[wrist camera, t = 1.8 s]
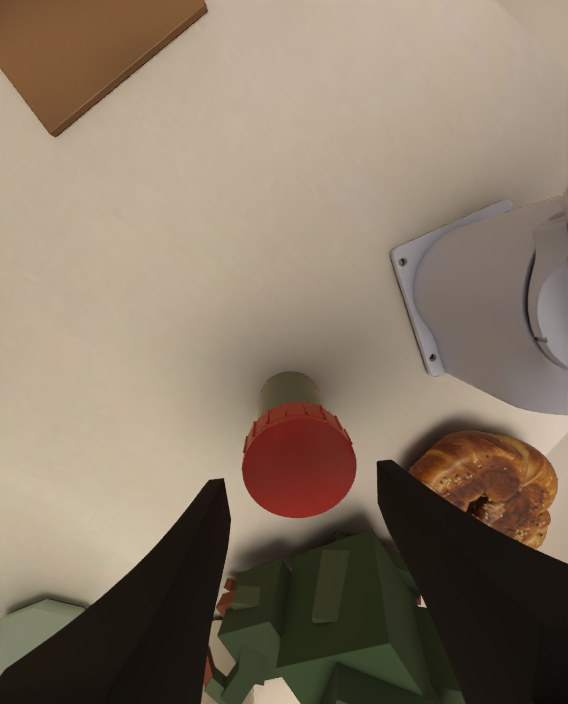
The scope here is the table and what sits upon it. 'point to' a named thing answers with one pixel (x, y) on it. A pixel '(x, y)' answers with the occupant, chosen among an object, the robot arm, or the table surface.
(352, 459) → the lid
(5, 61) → the coaster
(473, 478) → the brown braided bread ring
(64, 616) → the water bottle
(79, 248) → the table surface
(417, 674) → the toy robot
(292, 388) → the jar
